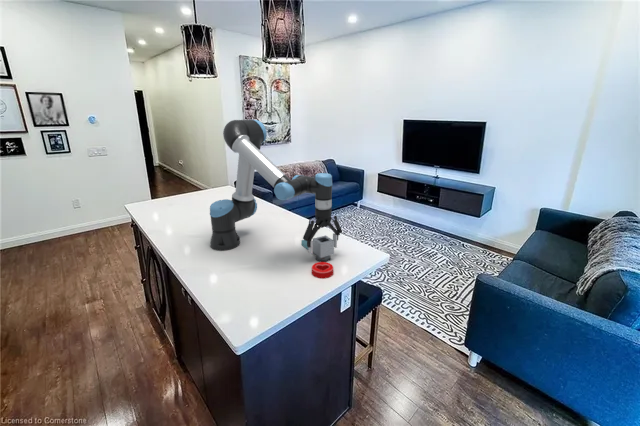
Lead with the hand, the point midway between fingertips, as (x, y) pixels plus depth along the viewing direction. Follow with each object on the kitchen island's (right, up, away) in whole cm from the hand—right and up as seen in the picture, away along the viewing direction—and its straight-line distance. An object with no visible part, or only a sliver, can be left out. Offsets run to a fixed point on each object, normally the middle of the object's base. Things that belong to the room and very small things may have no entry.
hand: (322, 249), depth 141 cm
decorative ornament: (0, -9, -11) cm, 14 cm away
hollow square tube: (0, -2, 0) cm, 2 cm away
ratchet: (-4, -2, +8) cm, 9 cm away
